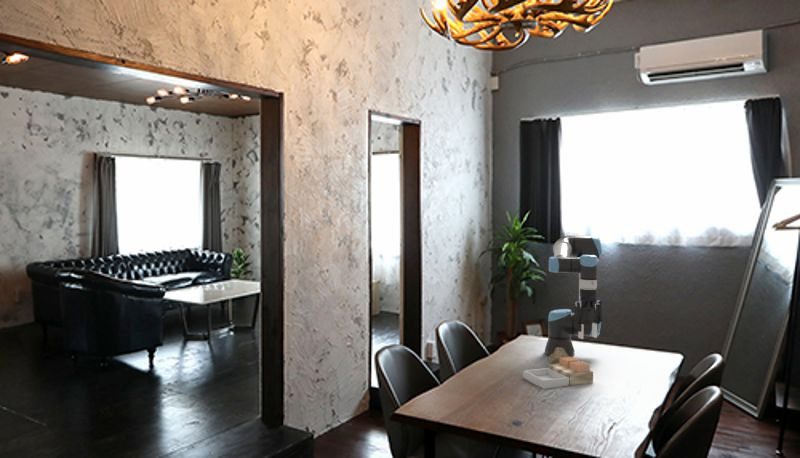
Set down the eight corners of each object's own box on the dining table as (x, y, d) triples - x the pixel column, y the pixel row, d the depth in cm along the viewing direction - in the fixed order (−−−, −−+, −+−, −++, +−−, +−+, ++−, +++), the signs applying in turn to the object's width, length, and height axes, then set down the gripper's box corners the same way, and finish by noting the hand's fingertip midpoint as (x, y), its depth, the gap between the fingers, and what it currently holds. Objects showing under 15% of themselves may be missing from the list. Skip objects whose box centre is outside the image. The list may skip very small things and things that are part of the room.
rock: (576, 356, 276) (558, 342, 280) (567, 364, 266) (549, 350, 270) (564, 372, 280) (547, 359, 285) (555, 381, 270) (538, 367, 274)
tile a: (559, 364, 266) (559, 357, 266) (570, 362, 268) (570, 356, 268) (567, 367, 260) (567, 361, 260) (578, 366, 262) (578, 359, 262)
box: (523, 378, 261) (523, 370, 261) (548, 375, 265) (548, 367, 265) (543, 388, 246) (543, 380, 246) (568, 385, 250) (569, 377, 250)
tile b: (570, 368, 258) (570, 362, 258) (581, 367, 260) (581, 361, 260) (578, 372, 252) (578, 365, 252) (589, 371, 254) (589, 364, 254)
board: (548, 375, 265) (549, 364, 265) (571, 372, 269) (571, 362, 269) (569, 385, 250) (570, 374, 250) (592, 382, 254) (593, 371, 254)
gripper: (575, 290, 259) (574, 341, 260) (611, 288, 265) (610, 337, 266) (565, 288, 266) (564, 337, 267) (600, 286, 272) (600, 334, 273)
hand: (587, 337), depth 267 cm, fingers open, 7 cm apart
